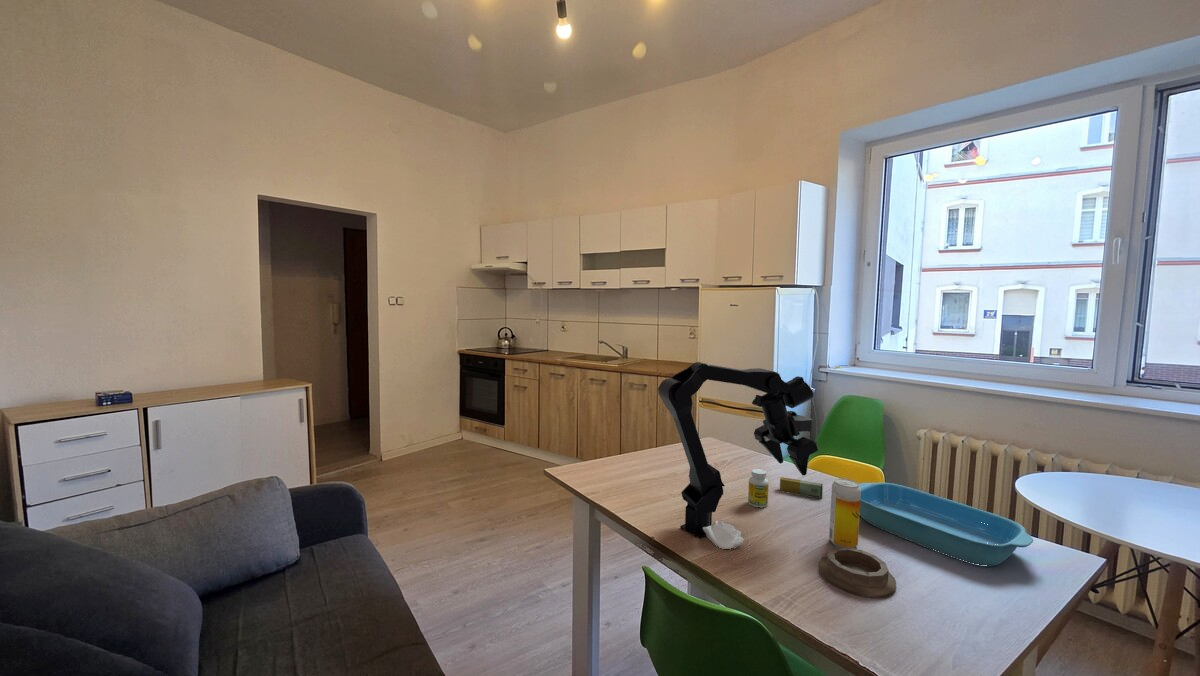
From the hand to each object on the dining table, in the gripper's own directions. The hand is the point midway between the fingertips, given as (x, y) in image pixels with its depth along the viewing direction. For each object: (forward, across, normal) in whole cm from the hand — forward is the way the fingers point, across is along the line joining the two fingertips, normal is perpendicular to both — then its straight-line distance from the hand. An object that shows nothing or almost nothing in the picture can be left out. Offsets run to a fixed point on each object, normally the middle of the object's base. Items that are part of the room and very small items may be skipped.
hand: (792, 468), depth 121 cm
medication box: (+18, +14, -8) cm, 25 cm away
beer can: (+14, -14, +1) cm, 20 cm away
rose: (+4, -6, +27) cm, 28 cm away
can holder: (+11, -26, +8) cm, 30 cm away
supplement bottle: (+12, +10, +8) cm, 18 cm away
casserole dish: (+24, -15, -22) cm, 36 cm away
